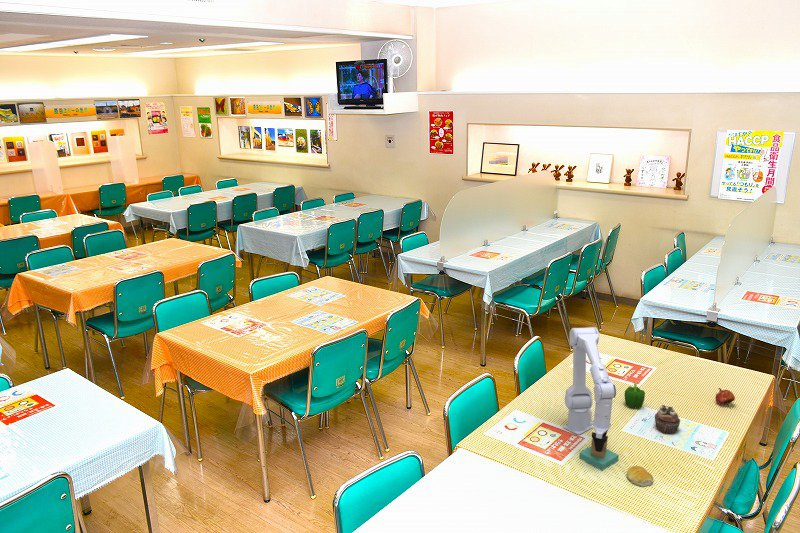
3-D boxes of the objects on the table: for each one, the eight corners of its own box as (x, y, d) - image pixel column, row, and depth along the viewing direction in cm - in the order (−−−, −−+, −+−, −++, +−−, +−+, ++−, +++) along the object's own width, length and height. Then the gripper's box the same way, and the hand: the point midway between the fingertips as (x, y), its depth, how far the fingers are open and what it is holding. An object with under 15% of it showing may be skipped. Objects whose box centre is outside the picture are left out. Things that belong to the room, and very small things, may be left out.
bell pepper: (640, 412, 262) (642, 391, 260) (621, 407, 267) (623, 386, 265) (646, 405, 269) (648, 384, 266) (627, 400, 274) (629, 379, 271)
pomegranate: (735, 411, 268) (726, 390, 274) (742, 404, 262) (732, 383, 268) (719, 413, 268) (709, 392, 274) (725, 406, 262) (715, 385, 268)
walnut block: (592, 448, 232) (593, 434, 230) (606, 451, 230) (607, 437, 228) (590, 455, 227) (591, 440, 226) (604, 458, 225) (606, 443, 224)
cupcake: (681, 436, 244) (684, 414, 241) (655, 434, 246) (658, 411, 243) (676, 424, 253) (678, 402, 250) (651, 422, 255) (653, 400, 252)
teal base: (595, 450, 236) (595, 443, 235) (618, 462, 228) (618, 455, 227) (579, 459, 230) (579, 452, 229) (601, 471, 222) (602, 464, 222)
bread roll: (641, 470, 223) (642, 460, 221) (656, 485, 214) (657, 475, 213) (621, 473, 221) (622, 463, 220) (635, 488, 212) (636, 478, 211)
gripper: (594, 402, 232) (591, 434, 235) (588, 420, 219) (585, 453, 223) (613, 406, 229) (610, 438, 233) (609, 424, 216) (606, 458, 220)
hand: (599, 446), depth 228 cm, fingers open, 7 cm apart
